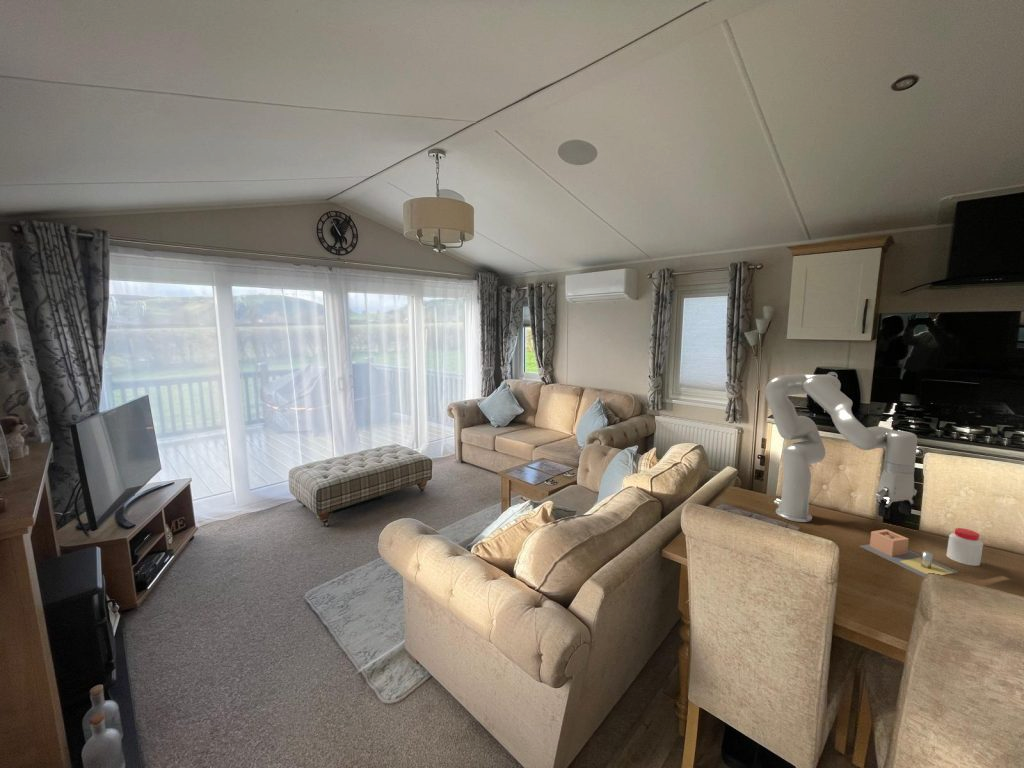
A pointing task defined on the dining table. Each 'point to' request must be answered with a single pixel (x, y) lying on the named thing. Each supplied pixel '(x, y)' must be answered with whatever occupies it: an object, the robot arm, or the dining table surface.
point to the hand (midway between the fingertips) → (894, 515)
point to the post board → (914, 561)
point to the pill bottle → (965, 547)
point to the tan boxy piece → (889, 542)
